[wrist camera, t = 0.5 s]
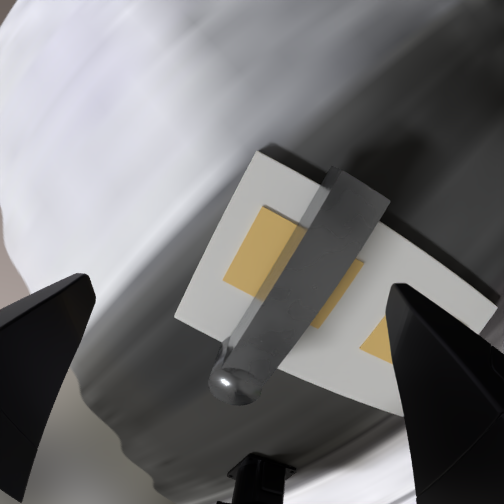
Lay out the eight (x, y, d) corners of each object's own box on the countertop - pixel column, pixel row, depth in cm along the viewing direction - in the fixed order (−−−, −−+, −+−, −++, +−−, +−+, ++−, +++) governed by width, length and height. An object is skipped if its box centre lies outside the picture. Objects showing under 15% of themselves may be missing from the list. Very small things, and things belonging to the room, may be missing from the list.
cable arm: (252, 377, 24) (246, 411, 21) (212, 358, 24) (200, 391, 20) (375, 192, 19) (395, 204, 15) (327, 163, 18) (337, 167, 15)
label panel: (396, 414, 27) (399, 424, 25) (174, 317, 25) (168, 326, 24) (492, 302, 22) (500, 310, 20) (258, 150, 20) (255, 151, 19)
